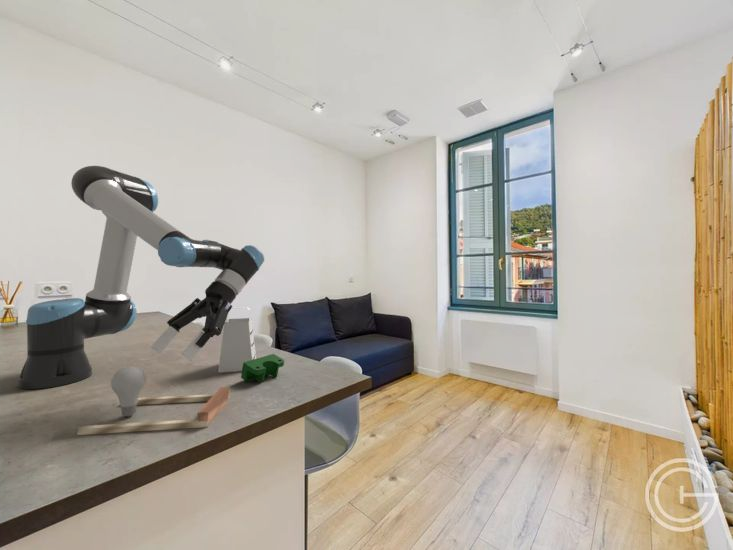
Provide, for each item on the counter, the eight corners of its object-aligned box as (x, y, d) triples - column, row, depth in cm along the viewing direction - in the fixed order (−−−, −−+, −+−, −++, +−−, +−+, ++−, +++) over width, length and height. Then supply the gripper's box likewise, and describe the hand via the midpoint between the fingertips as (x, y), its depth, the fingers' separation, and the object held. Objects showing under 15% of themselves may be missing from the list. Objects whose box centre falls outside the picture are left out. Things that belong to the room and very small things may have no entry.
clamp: (257, 397, 88) (251, 375, 83) (244, 388, 91) (238, 366, 86) (288, 372, 96) (284, 350, 92) (275, 364, 99) (271, 343, 95)
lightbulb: (152, 412, 69) (152, 364, 69) (123, 425, 63) (123, 372, 63) (134, 408, 71) (133, 361, 71) (104, 420, 65) (103, 369, 65)
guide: (77, 435, 59) (77, 419, 59) (125, 403, 73) (125, 391, 73) (207, 427, 62) (207, 412, 62) (229, 398, 77) (229, 386, 77)
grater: (225, 362, 106) (225, 306, 106) (256, 360, 109) (256, 305, 109) (218, 372, 96) (218, 309, 96) (253, 370, 99) (253, 309, 99)
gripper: (263, 299, 82) (212, 369, 70) (207, 295, 95) (155, 355, 82) (246, 280, 78) (188, 352, 65) (190, 279, 90) (132, 339, 77)
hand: (170, 354), depth 73 cm, fingers open, 13 cm apart
